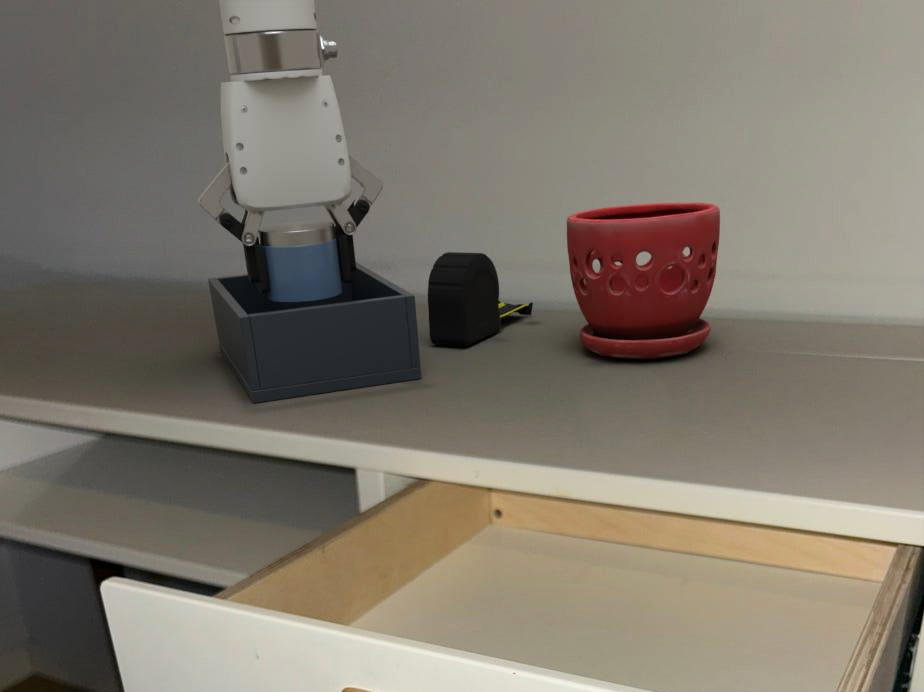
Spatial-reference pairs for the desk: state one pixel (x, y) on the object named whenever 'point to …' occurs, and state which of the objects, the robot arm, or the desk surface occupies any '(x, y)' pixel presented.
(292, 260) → the can
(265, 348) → the dark blue open box
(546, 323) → the desk surface
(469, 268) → the tape measure
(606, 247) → the flower pot
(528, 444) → the desk surface
